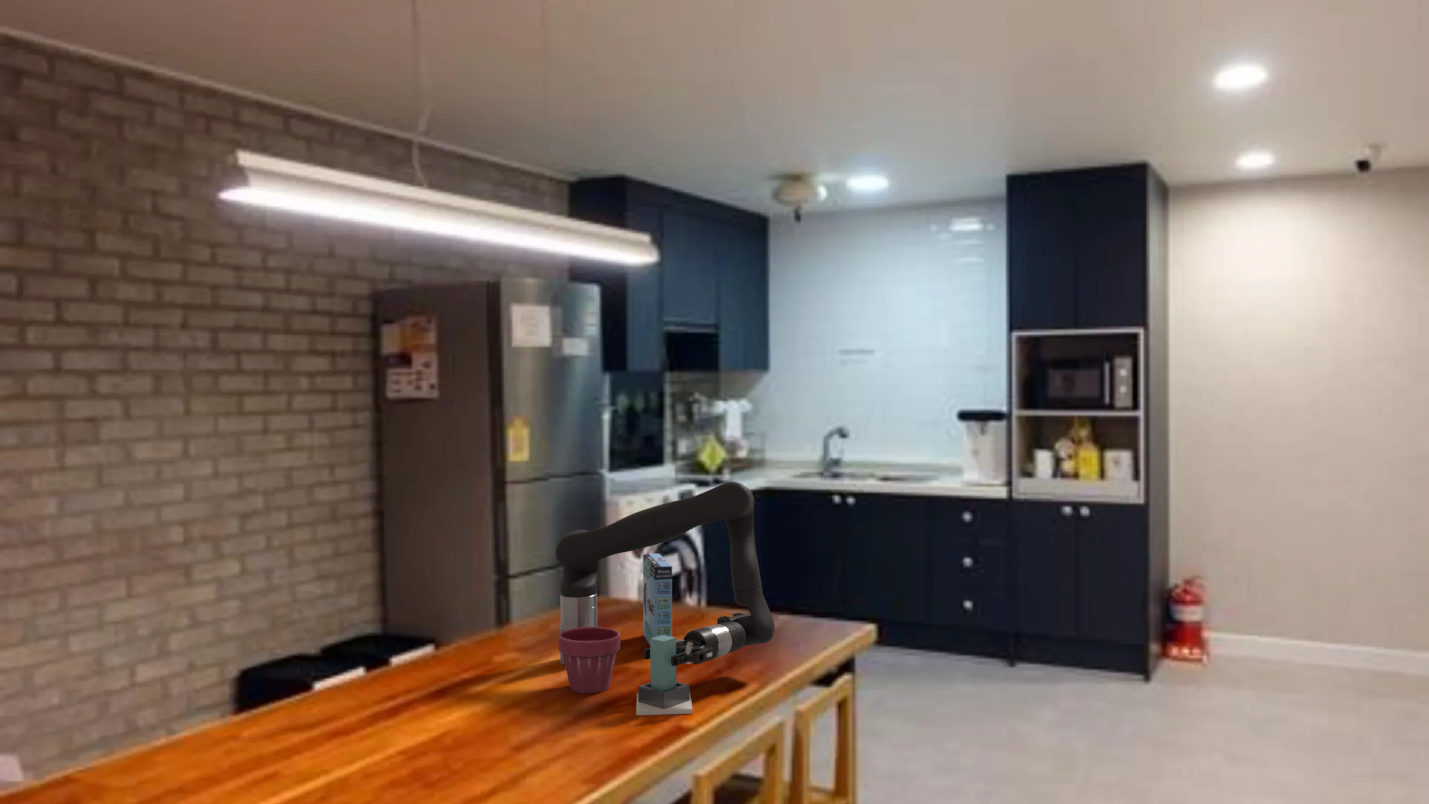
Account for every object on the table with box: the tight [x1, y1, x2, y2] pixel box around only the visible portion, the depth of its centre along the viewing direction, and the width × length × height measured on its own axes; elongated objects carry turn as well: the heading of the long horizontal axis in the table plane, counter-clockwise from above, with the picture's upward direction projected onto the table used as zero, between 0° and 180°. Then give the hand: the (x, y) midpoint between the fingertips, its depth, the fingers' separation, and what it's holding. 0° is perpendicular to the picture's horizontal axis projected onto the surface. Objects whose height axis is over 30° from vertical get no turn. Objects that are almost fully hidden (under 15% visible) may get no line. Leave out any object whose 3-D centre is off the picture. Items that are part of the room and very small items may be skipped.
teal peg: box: [649, 635, 677, 691], centre depth 235 cm, size 4×4×14 cm
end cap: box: [716, 612, 751, 625], centre depth 292 cm, size 10×7×7 cm
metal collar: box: [637, 680, 691, 709], centre depth 235 cm, size 8×8×4 cm
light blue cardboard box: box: [642, 553, 673, 645], centre depth 288 cm, size 20×5×23 cm, turn 13°
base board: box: [635, 693, 693, 716], centre depth 235 cm, size 12×12×1 cm
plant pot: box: [558, 626, 621, 694], centre depth 249 cm, size 14×14×13 cm
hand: (658, 658), depth 234 cm, fingers open, 8 cm apart
